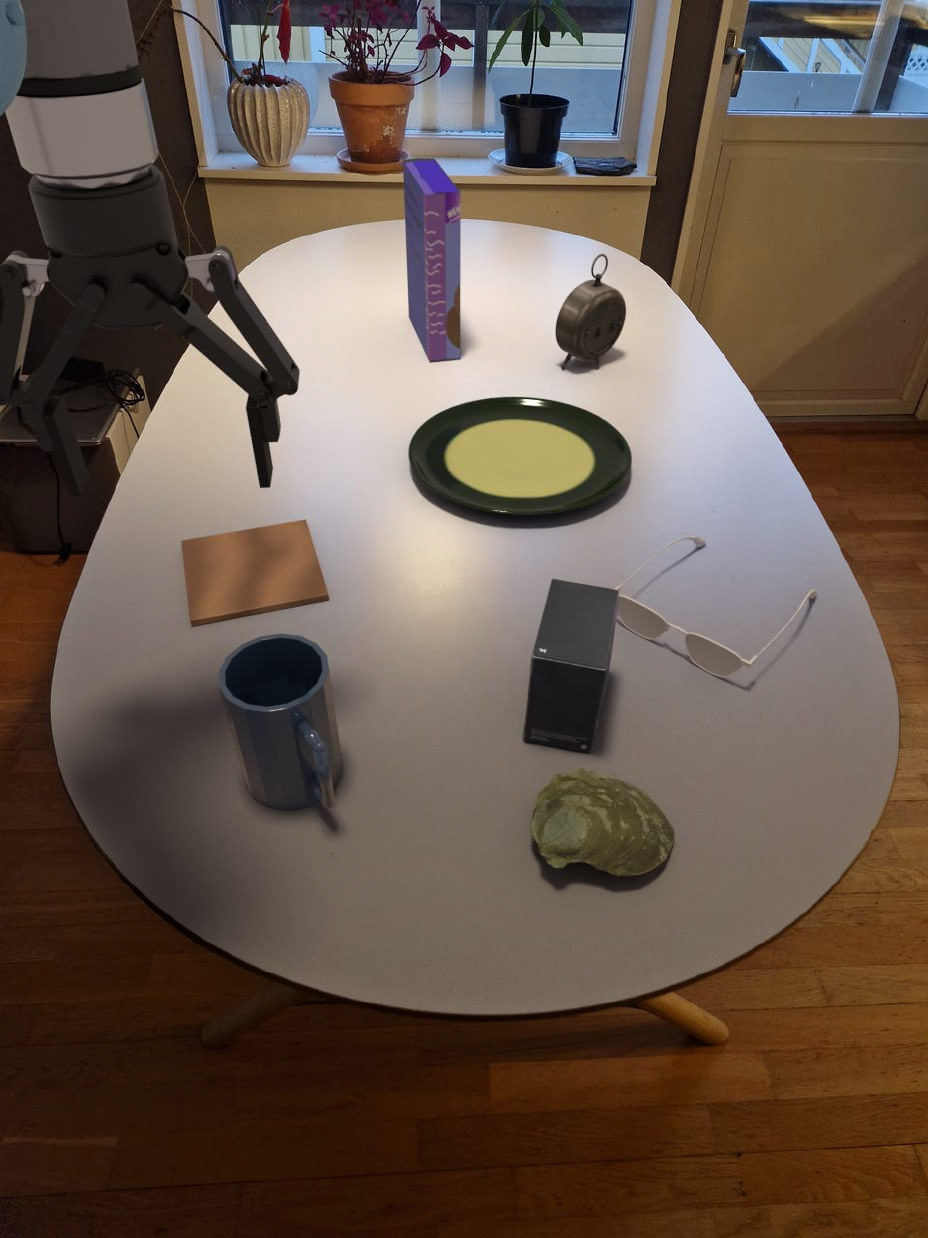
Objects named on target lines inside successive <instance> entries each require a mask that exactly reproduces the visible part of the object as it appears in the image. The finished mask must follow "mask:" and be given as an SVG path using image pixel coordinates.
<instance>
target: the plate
mask: <svg viewBox="0 0 928 1238" xmlns="http://www.w3.org/2000/svg"><path fill="white" fill-rule="evenodd" d="M407 455H408V461H409V464H410V467H411V469H412V470H413V472H414V474H415V476H416V477H417V479H418V480H419V482H420V483H421V484H422V485H423V486H424V487H426V489H428V490H430V491H432V492H433V493H435V494H437V495H439V496H441V497H443V498H445V499H447V500H449V501H452V502H454V503H456V504H460V505H462V506H465V507H467V508H472V509H475V510H479V511H483V512H484V511H485V512H489V513H496V514H502V515H503V514H504V515H515V516H516V515H517V516H536V515H548V514H549V515H551V514H558V513H563V512H564V513H565V512H568V511H572V510H576V509H580V508H583V507H586V506H588V505H592V504H594V503H596V502H599V501H601V500H602V499H604V498H605V497H607V496H609V495H610V494H612V493H613V492H615V491H616V490H617V489H618V488H620V487H621V486H622V485H623V483H624V482H625V481H626V480H627V478H628V476H629V474H630V471H631V468H632V464H633V457H632V456H633V455H632V451H631V447H630V445H629V443H628V441H627V439H626V438H625V436H624V435H623V434H622V433H621V432H620V431H619V430H618V429H617V428H616V427H615V426H613V425H612V423H610V422H609V421H607V420H606V419H604V418H603V417H601V416H599V415H598V414H596V413H594V412H591V411H589V410H587V409H584V408H582V407H579V406H576V405H573V404H570V403H567V402H562V401H558V400H554V399H547V398H541V397H533V396H532V397H531V396H495V397H489V398H481V399H475V400H471V401H466V402H463V403H460V404H456V405H454V406H453V405H452V406H451V407H449V408H445V409H444V410H442V411H440V412H438V413H436V414H434V415H433V416H431V417H430V418H428V419H427V420H426V421H424V422H423V423H422V424H421V425H420V426H419V427H418V428H417V429H416V431H415V432H414V434H413V435H412V437H411V439H410V442H409V445H408V449H407Z"/></svg>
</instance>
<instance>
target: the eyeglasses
mask: <svg viewBox="0 0 928 1238" xmlns="http://www.w3.org/2000/svg"><path fill="white" fill-rule="evenodd" d="M685 540H690V541H692V542H694V545H695V546H696V548H701V547H703V546H704V545H706V544H707V541H706V539H704V538H701V536H700V537H699V536H693V535H692V536H691V535H690V536H689V535H688V536H684V537H680V538H678V539H676V540H673V541H672V542H670V543H668V544H667V545H665V546H664V547H662V549H661V550H659V551H658V552H657V553H655V554H653V556H651V557H650V558H649V559H648V560H647V561H646V562H645V563H643V564H642V565H641V566H640V567H639V568H638V569H636V570H635V571H634V573H632V574H631V575H630V576H629V577H628V578H627V579H626V580H625V581H624V582H623V583H622V584H621V585H617V586H616V587H615V588H614V589H615V590H618V591H619V592H620V591H621V588H622V587H623V586H624V585H625V584H626V583H627V582H628V581H629V580H630V579H632V578H633V577H634V576H635V574H637V573H638V572H639V571H640V570H641V569H642V568H644V566H645V565H647V564H648V563H649V562H651V561H652V560H653V559H654V558H655V557H657V556H658V555H659V554H660V553H662V552H663V551H664V550H666V549H668V548H669V547H671V546H672V545H674V544H676V543H678V542H681V541H685ZM817 594H818V591H817V590H816V589H815V588H812V589H810V591H808V593H807V594H806V595H805V597H804V598H803V600H802V602H801V604H799V606H798V607H797V608H798V609H797V610H796V612H795V613H794V614H793V616H792V617H791V618H790V619H789V620H788V622H787V623H786V624H785V625H784V626H783V628H782V629H781V630H780V631H779V632H778V633H777V634H776V635H775V636H774V637H773V639H772V640H770V642H769V643H767V644H766V646H764V648H763V649H762V650H760V651H759V653H757V655H756V654H754V655H753V656H752V658H751V659H750V660H747V659H745V658H742V657H741V655H740V654H739V653H737V652H735V651H734V650H732V649H731V648H729V647H727V646H725V645H723V644H721V643H719V642H717V641H715V640H713V639H711V638H709V637H706V636H704V635H702V634H699V633H697V632H692V631H689V632H688V631H686V630H685V629H683V628H682V627H680V626H679V625H676V624H673V623H670V622H668V621H667V620H666V618H665V617H664V616H662V615H661V614H660V613H658V612H657V611H655V610H654V609H652V608H651V607H649V606H647V605H645V604H643V603H641V602H639V601H637V600H635V599H633V598H632V597H629V596H627V595H624V594H619V598H618V609H617V614H618V617H619V618H620V621H621V623H622V624H623V625H624V627H626V628H627V629H628V630H630V631H631V632H632V633H634V634H635V635H638V636H639V637H642V638H644V639H647V640H650V641H651V640H652V641H653V640H657V639H658V638H660V637H661V636H662V635H663V634H664V633H667V632H668V631H669V629H670V628H673V629H675V630H676V631H678V632H680V633H682V634H684V635H685V637H684V642H685V648H686V651H687V654H688V656H689V658H690V660H691V662H692V663H693V664H695V665H696V666H697V667H698V668H700V669H701V670H703V671H705V672H706V673H708V674H711V675H712V676H715V677H718V678H724V679H725V678H729V677H730V676H732V675H734V674H735V673H737V672H738V671H739V670H741V668H742V667H747V668H749V669H751V667H752V666H753V665H754V664H755V662H757V660H758V657H759V656H760V655H761V654H762V653H763V652H764V651H765V650H766V649H767V648H768V647H769V646H770V645H771V644H772V643H773V642H774V641H775V640H776V639H777V638H778V637H779V635H781V633H782V632H783V631H784V630H785V629H786V628H787V626H788V625H789V624H790V623H791V622H792V620H793V619H794V618H795V617H796V616H797V614H798V613H800V611H801V610H802V608H803V606H804V605H805V603H806V602H807V600H808V598H809V599H810V600H813V599H815V598H816V596H817Z"/></svg>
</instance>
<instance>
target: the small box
mask: <svg viewBox="0 0 928 1238" xmlns="http://www.w3.org/2000/svg"><path fill="white" fill-rule="evenodd" d="M619 595H620V591H618V590H615V588H610V587H604V586H597V585H591V584H586V583H579V582H574V581H568V580H564V579H563V580H562V579H558V578H552V579H551V581H550V584H549V588H548V592H547V594H546V600H545V603H544V605H543V606H544V607H543V611H542V614H541V618H540V622H539V626H538V630H537V633H536V637H535V640H534V645H533V648H532V652H531V658H530V669H529V677H528V681H529V682H528V689H527V700H526V708H525V709H526V710H525V717H524V724H523V732H522V740H523V741H526V742H532V743H538V744H543V745H548V746H552V747H558V748H563V749H567V750H571V751H577V752H583V753H591V751H592V749H593V744H594V741H595V737H596V735H597V730H598V726H599V722H600V717H601V711H602V707H603V704H604V703H603V702H604V697H605V692H606V687H607V682H608V677H609V672H610V667H611V662H612V657H613V651H614V650H613V649H614V641H615V635H616V626H617V618H618V610H617V609H618V598H619Z"/></svg>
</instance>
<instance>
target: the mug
mask: <svg viewBox="0 0 928 1238" xmlns="http://www.w3.org/2000/svg"><path fill="white" fill-rule="evenodd" d="M332 687H333V686H332V679H331V671H330V666H329V659H328V655H327V654H326V652H325V651H324V649H322V648H321V646H320V645H319V644H318V643H317V642H315V641H313V640H312V639H311V640H310V639H308V638H307V637H304V636H302V635H297V634H291V633H290V634H289V633H275V634H266V635H261V636H257V637H256V638H253V639H251V640H248V641H246V642H243V643H242V644H240V645H239V646H237V648H235V649H234V650H233V651H232V652H231V653H229V654H228V655H227V656H226V657H225V659H224V661H223V663H222V664H221V667H220V669H219V670H218V689H219V692H220V697H221V700H222V703H223V708H224V711H225V714H226V719H227V722H228V725H229V730H230V734H231V738H232V741H233V744H234V749H235V752H236V757H237V760H238V763H239V767H240V770H241V774H242V778H243V782H244V783H245V785H246V789H247V790H248V792H249V794H250V795H251V796H252V797H253V798H254V799H255V800H256V801H257V802H259V803H260V804H262V805H264V806H266V807H269V808H272V809H277V810H283V811H284V810H285V811H287V810H298V809H303V808H306V807H309V806H312V805H314V804H316V803H318V802H320V803H321V805H322V806H323V807H324V809H325V808H326V809H332V808H333V807H334V806H335V804H336V797H335V793H334V788H335V787H336V786H337V784H338V782H339V781H340V779H341V776H342V772H343V757H342V750H341V742H340V737H339V728H338V721H337V716H336V706H335V701H334V694H333V688H332Z"/></svg>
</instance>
